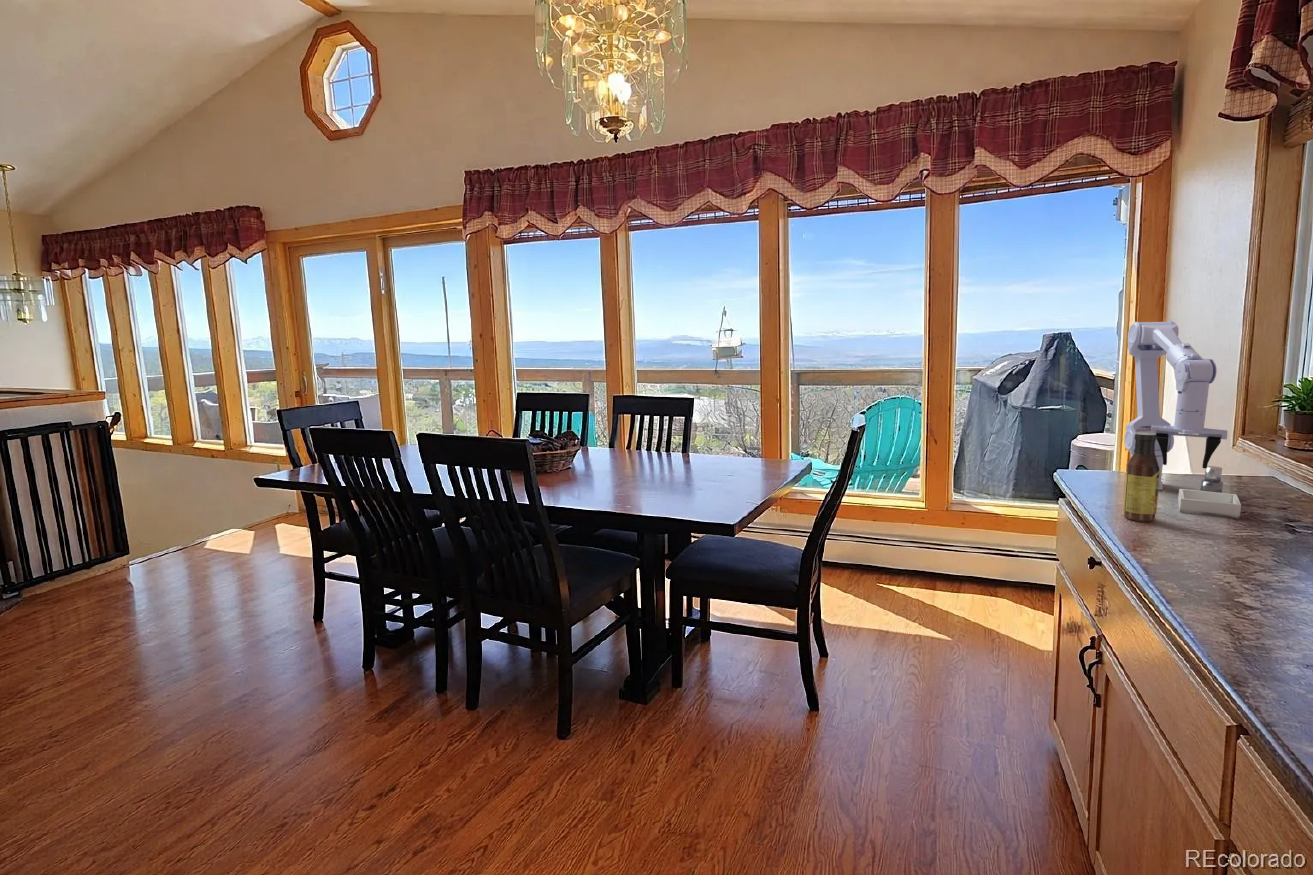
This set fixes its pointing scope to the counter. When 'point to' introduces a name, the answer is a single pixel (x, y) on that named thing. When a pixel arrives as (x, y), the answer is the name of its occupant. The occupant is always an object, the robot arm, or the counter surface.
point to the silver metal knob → (1212, 480)
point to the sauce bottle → (1142, 480)
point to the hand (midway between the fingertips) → (1184, 465)
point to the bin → (1209, 503)
